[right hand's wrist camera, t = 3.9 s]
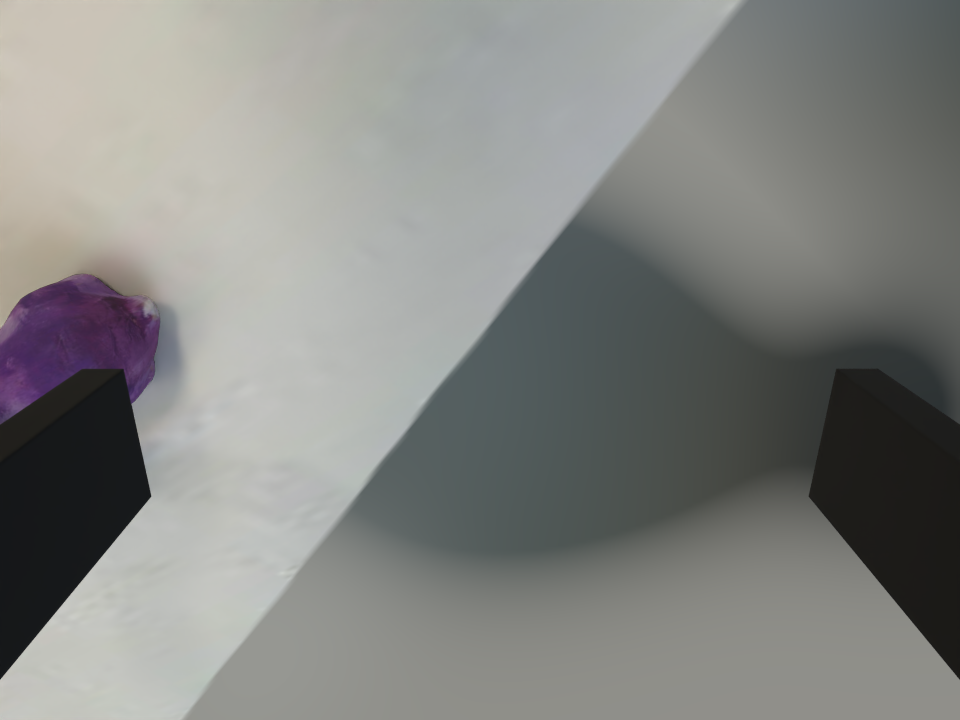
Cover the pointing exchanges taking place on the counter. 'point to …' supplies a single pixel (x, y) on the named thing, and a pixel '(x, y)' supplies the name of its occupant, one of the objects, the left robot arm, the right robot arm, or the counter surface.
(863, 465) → the right robot arm
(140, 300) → the figurine
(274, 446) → the counter surface
